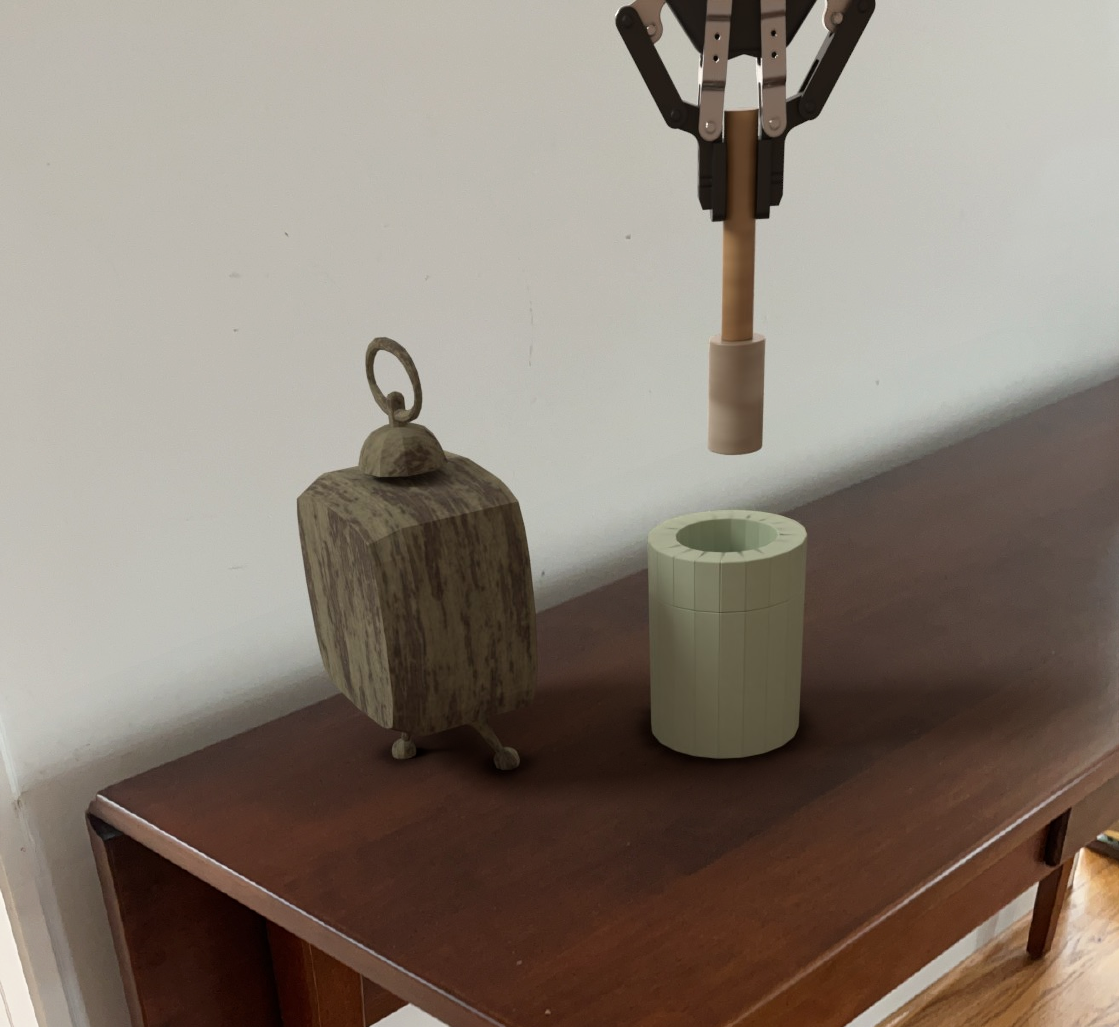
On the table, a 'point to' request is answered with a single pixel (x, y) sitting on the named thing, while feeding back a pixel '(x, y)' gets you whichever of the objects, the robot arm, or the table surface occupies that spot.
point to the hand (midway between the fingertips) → (738, 216)
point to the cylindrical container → (726, 631)
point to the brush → (737, 303)
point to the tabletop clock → (420, 581)
